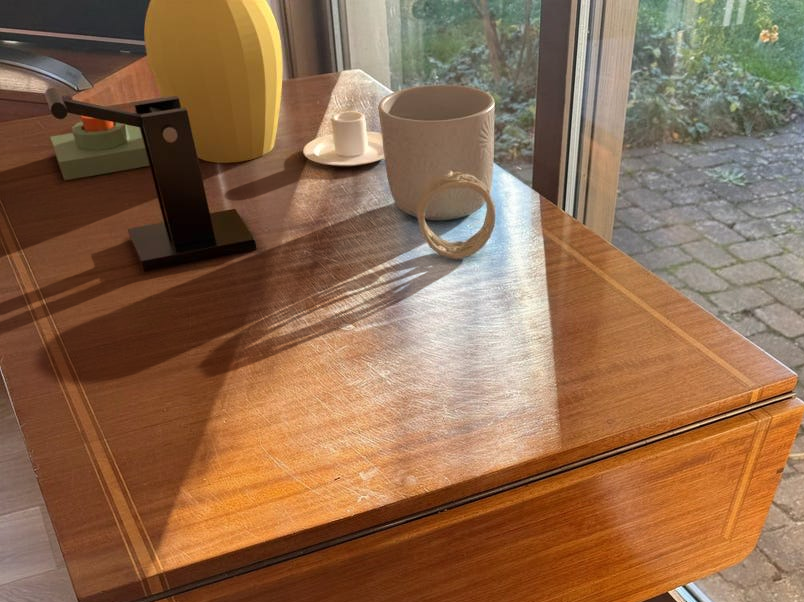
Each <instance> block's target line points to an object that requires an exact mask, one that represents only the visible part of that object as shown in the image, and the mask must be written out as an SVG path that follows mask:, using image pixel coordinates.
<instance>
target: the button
mask: <svg viewBox="0 0 804 602" xmlns="http://www.w3.org/2000/svg"><path fill="white" fill-rule="evenodd" d="M80 119H81V122H82V123H83V126H84V130H85V131H96V132H97V131H103V130H107V129H110V128H113V127H114V124H113V122H111V121H106V120H101V119H96V118H91V117H86V116H81V115H80Z"/></svg>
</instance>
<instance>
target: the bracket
mask: <svg viewBox="0 0 804 602" xmlns="http://www.w3.org/2000/svg"><path fill="white" fill-rule="evenodd" d="M133 107H134V111H135V112H134V113H137V114H141V115H140V116H141V120H142V124H143V128H140V131H141V135H142V139H143V143H144V147H145V151H146V155H147V159H148V162H149V166H148V167H149V170H150V175H151V178H152V182H153V186H154V190H155V194H156V198H157V201H158V205H159V209H160V213H161V217H162V222H156V223H151V224H145V225H140V226H135V227H130V228H127V229H126V230H127V233H128V236H129V240H130V242H131V245H132V247H133V249H134V251H135V254H136V256H137V258H138V262H139V264H140V265H141V267H142V270H143V272H144V273H148V272H152V271H157V270H163V269H167V268H172V267H173V268H174V267H176V266H177V267H178V266H181V265H187V264H193V263H198V262H203V261H207V260H212V259H217V258H221V257H226V256H231V255H236V254H237V255H238V254H242V253H247V252H252V251H256V250H258V248H257V242H256V238H255V237H254V235H253V234H252V232H251V231H250V229H249V228H248V226H247V225H246V223H245V221H244V220H243V219H242V217H241V215H240V214H239V213H238V211H237V210H236V208H231V209H226V210H221V211H220V210H219V211H216V212H210V208H209V203H208V198H207V193H206V189H205V185H204V182H203V176H202V171H201V167H200V162H199V158H198V157H197V153H196V148H195V144H194V139H193V135H192V130H191V126H190V121H189V117H188V112H187V110H186V108H185V107H184V108H181V105H180V101H179V98H178V96H173V97H166V98H163V97H161V98H160V97H159V98H155V99H148V100H142V101H134V102H133ZM149 107H153V108H157V109H162V110H165V111H159V112H153V113H149Z"/></svg>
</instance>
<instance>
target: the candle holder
mask: <svg viewBox="0 0 804 602" xmlns="http://www.w3.org/2000/svg"><path fill="white" fill-rule="evenodd" d="M330 121H331V122H330V123H331V129H332V133H330V134H329V133H328V134H325V135H322V136H319V137H317V138H315V139H313V140H311V141H309V142H307V144H305V145H304V147H303V149H302V153H303V155H304V157H305V158H307V159H308V160H310V161H311V162H314V163H317V164H321V165H326V166H332V167H358V166H365V165H369V164H372V163H376V162H378V161H381V160H383V159H384V160H385V158H384V150H383V142H382V134H381V132H377V131H369V130H368V131H367V123H366V117H365V115H364V114H363V113H362V112H359V111H352V110H351V111H341V112H338V113H335V114H333V115H332V116H331V119H330Z"/></svg>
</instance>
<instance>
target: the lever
mask: <svg viewBox="0 0 804 602" xmlns="http://www.w3.org/2000/svg"><path fill="white" fill-rule="evenodd" d="M44 97H45V99H46V102H47V105H48V108H49V110H50V113H51V115H52V116H53V117H54V118H55V119H58V120H63V119H64V120H65V118H67V115H68V114H73V115H77V116H80V117H81V116H86V117H91V118H96V119H101V120H106V121H111V122H116V123H121V124H125V125H130V126H135V127H140V128H143V124H142V120H141V116H140V115H141V114H137V113H136V112H132V111H127V110H122V109H117V108H113V107H108V106H104V105H99V104H95V103H90V102H85V101H81V100H75V99H70V98H66V97H63V96H62V93H61V91H59V90H58V89H57V88H55V87H49V88H47V89H46V91H45V93H44ZM159 111H165V110H162V109H157V108H153V107H149V113H153V112H159Z"/></svg>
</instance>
